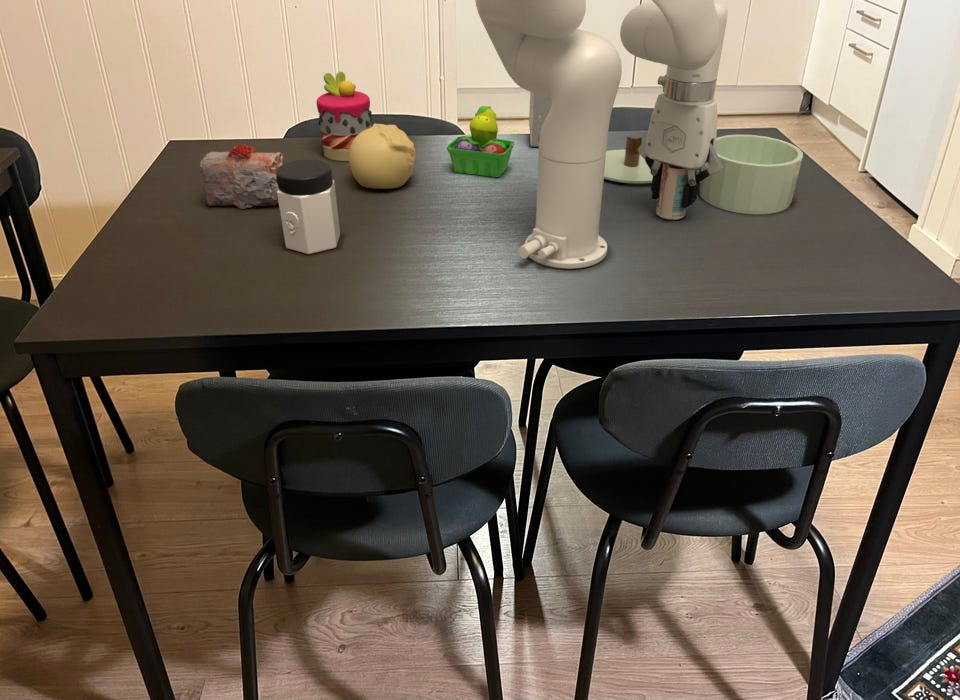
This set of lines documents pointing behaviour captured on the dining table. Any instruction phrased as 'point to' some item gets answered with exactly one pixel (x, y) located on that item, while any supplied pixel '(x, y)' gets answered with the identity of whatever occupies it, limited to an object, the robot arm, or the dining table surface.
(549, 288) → the dining table surface
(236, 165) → the food item
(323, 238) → the jar
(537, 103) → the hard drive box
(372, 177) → the sculpture
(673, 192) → the beer can
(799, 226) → the dining table surface
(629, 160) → the tub lid
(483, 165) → the fruit basket
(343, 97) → the cake
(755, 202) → the tub
